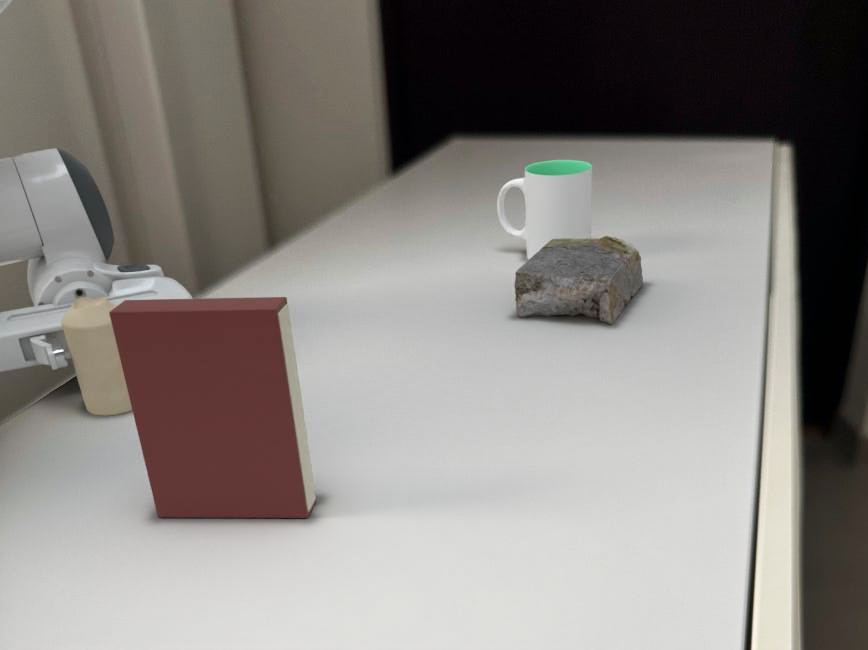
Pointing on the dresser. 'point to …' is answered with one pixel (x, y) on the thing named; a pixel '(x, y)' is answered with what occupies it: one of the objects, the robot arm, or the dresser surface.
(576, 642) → the dresser surface
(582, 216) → the mug
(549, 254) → the geological specimen
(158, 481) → the book
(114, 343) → the candle
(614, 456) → the dresser surface
